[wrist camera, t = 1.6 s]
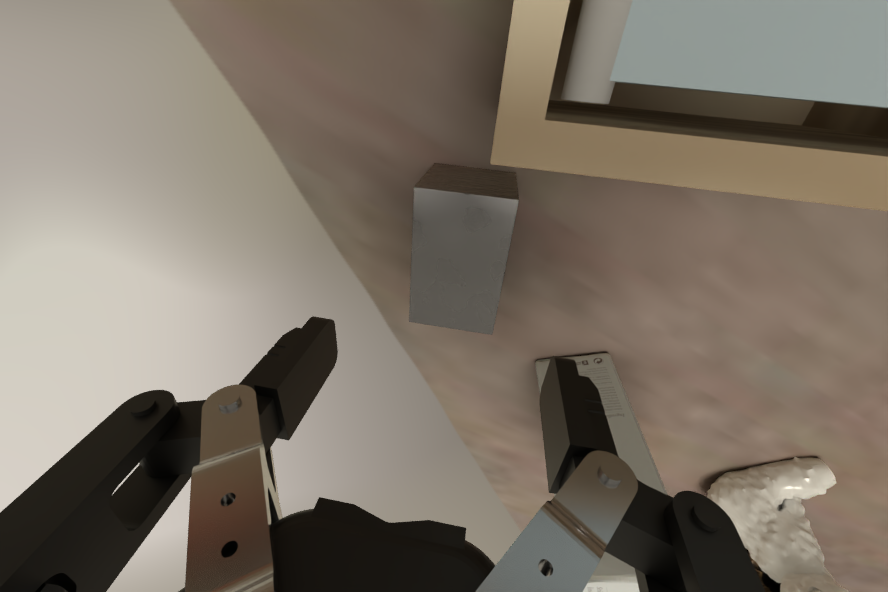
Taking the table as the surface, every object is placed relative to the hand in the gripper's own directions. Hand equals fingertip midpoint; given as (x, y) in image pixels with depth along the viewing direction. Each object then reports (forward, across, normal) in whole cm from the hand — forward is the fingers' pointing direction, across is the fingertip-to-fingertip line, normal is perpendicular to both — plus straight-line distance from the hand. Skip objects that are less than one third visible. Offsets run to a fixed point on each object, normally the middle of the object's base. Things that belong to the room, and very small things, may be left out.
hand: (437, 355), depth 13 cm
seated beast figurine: (+13, -29, +21) cm, 38 cm away
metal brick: (+13, 0, 0) cm, 13 cm away
